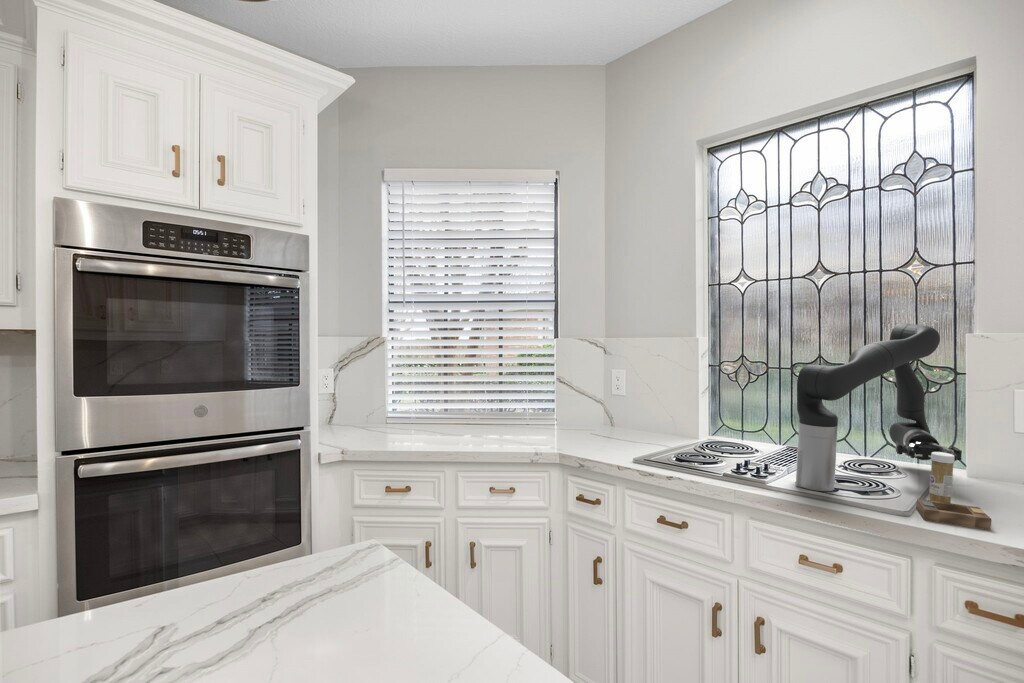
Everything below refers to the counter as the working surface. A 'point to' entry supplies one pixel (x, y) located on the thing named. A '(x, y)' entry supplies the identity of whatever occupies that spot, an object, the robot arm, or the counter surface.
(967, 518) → the socket block
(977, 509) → the brass tag
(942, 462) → the sprinkles bottle
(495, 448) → the counter surface
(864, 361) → the robot arm
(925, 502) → the slate tag
